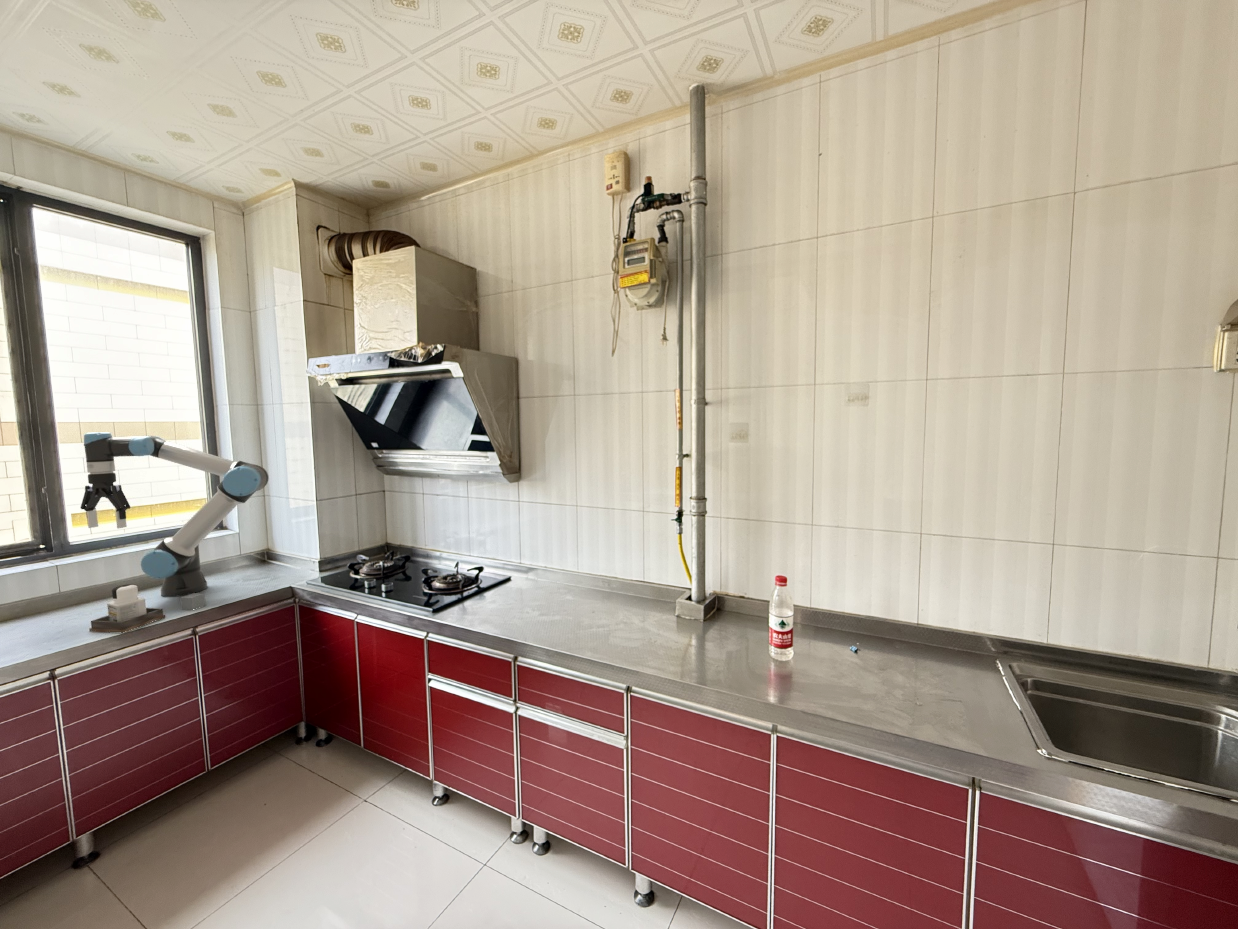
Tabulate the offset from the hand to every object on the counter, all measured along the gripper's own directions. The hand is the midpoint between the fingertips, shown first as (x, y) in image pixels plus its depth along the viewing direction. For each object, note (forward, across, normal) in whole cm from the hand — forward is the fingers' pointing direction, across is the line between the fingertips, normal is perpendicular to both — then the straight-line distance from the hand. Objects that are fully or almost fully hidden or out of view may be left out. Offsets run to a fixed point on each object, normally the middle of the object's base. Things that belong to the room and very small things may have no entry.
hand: (107, 527), depth 197 cm
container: (+31, +25, -14) cm, 42 cm away
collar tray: (+32, +25, -14) cm, 43 cm away
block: (+32, +32, +3) cm, 46 cm away
